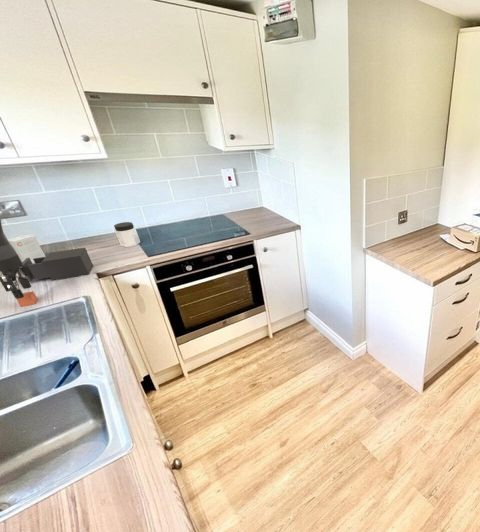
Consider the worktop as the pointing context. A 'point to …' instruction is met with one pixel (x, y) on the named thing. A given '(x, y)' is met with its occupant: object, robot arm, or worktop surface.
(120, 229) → the jar
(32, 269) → the drawer
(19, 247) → the small box
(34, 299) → the block
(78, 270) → the cabinet
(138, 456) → the worktop surface
